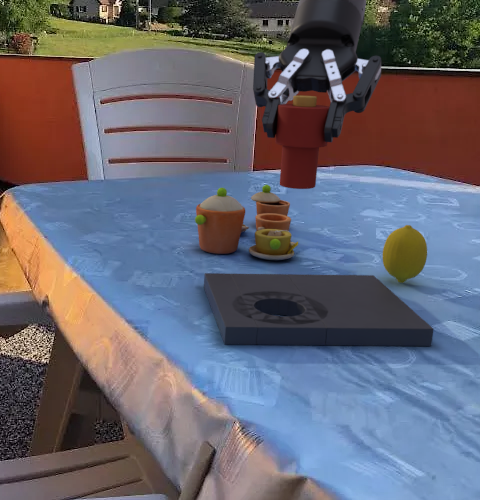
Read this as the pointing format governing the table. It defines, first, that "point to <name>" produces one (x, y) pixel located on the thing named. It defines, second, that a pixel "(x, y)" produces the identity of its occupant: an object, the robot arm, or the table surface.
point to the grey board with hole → (312, 311)
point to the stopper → (300, 140)
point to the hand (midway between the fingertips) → (298, 134)
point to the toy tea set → (231, 225)
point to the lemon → (404, 253)
